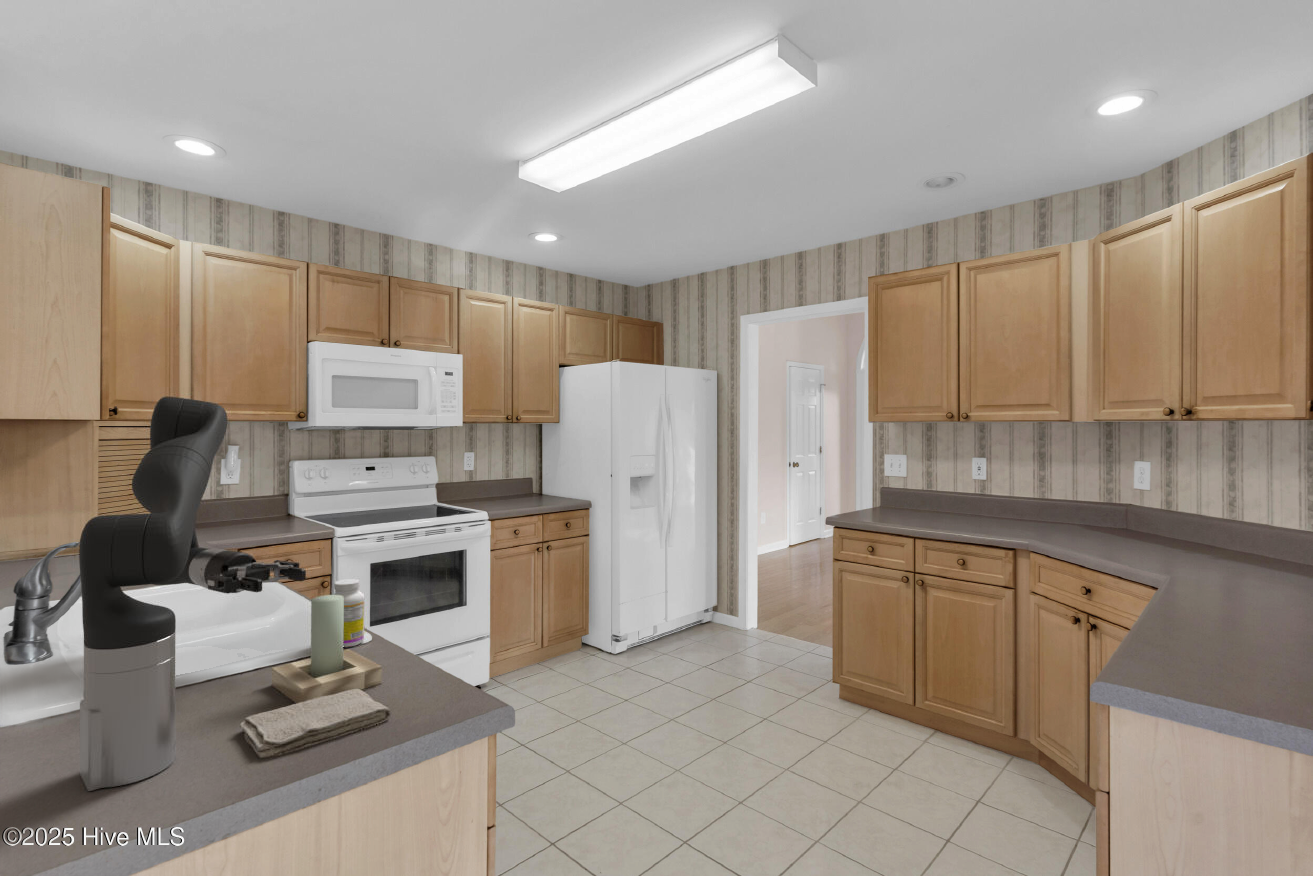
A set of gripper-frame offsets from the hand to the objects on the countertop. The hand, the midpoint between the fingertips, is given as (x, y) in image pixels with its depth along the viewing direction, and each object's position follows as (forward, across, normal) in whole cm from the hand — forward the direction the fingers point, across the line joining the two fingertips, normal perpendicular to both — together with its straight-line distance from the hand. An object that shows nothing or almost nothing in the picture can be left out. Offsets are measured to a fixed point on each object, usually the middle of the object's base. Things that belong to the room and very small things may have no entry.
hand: (283, 580), depth 115 cm
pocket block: (+12, 0, +17) cm, 20 cm away
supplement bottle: (-3, +16, +17) cm, 24 cm away
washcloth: (+23, -12, +17) cm, 31 cm away
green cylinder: (+12, 0, +17) cm, 20 cm away
